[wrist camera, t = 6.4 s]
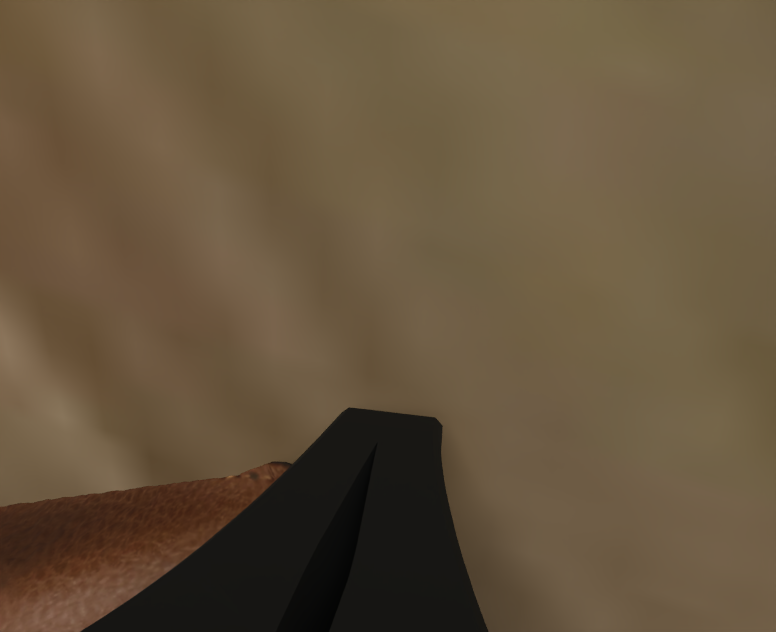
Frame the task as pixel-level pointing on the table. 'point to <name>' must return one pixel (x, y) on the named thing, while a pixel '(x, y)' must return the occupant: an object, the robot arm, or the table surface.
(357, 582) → the robot arm
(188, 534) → the sunglasses case
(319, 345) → the table surface
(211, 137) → the table surface
